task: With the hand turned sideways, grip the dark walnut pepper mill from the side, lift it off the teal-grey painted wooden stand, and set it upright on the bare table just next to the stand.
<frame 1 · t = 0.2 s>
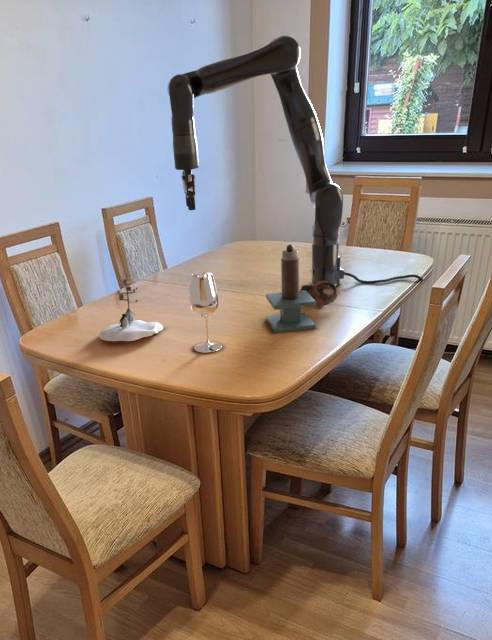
hand: (191, 208, 186), 29 cm above the table, tool pointing down, fingers open, 8 cm apart
wineglass: (208, 348, 160), on the table
pepper mill: (290, 297, 168), point 8 cm above the table, touching stand
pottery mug: (318, 304, 187), on the table
stand: (290, 324, 172), on the table
figurine: (132, 336, 173), on the table
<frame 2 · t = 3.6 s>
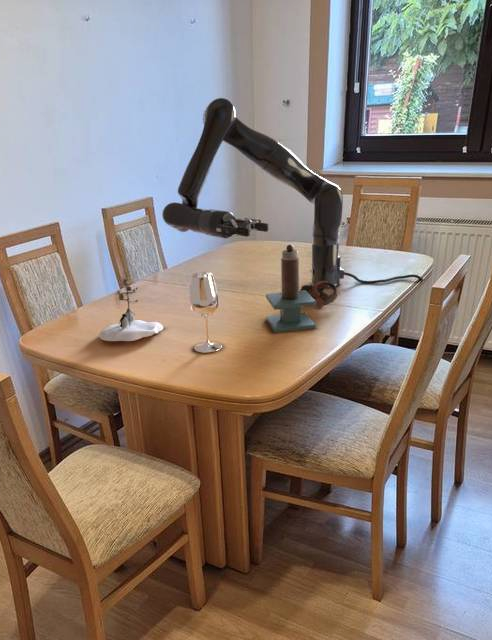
hand: (258, 230, 166), 26 cm above the table, tool horizontal, fingers open, 8 cm apart
nothing on the table moved.
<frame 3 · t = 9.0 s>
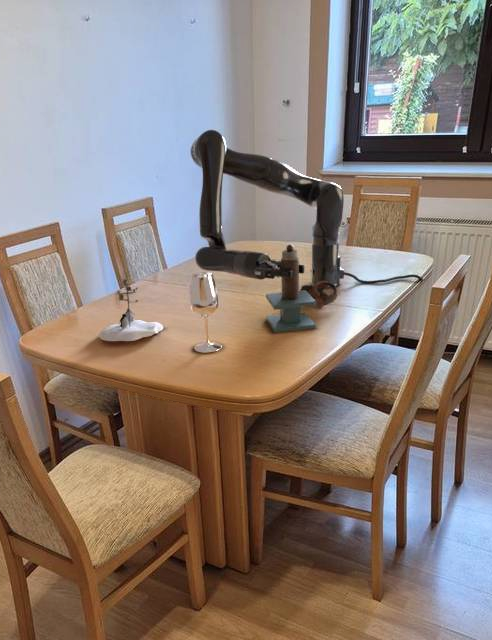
hand: (297, 271, 162), 16 cm above the table, tool horizontal, fingers closed on pepper mill, 5 cm apart
pepper mill: (290, 297, 168), point 8 cm above the table, touching gripper, stand
everything else where it was.
when the fingers open (8 cm above the table, at t = 19.3 s): pepper mill stays where it is, on the table.
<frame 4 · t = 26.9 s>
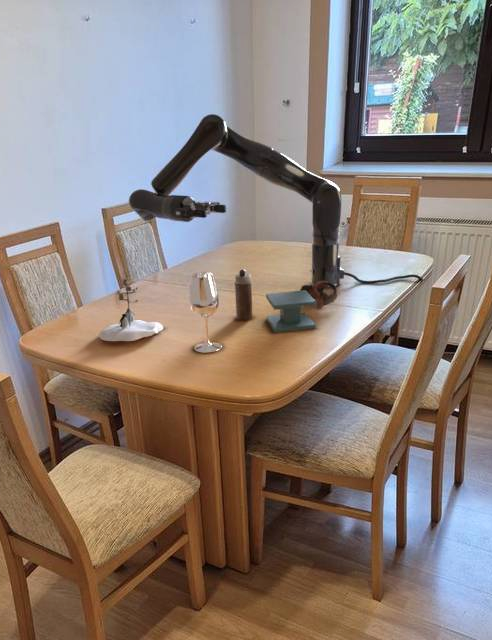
hand: (215, 211, 173), 30 cm above the table, tool horizontal, fingers open, 8 cm apart
pepper mill: (244, 318, 180), on the table
everything else where it was.
at the end: pepper mill inside the target area (0.1 cm from its centre), on the table; pepper mill tilted 0°; the gripper is holding nothing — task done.
